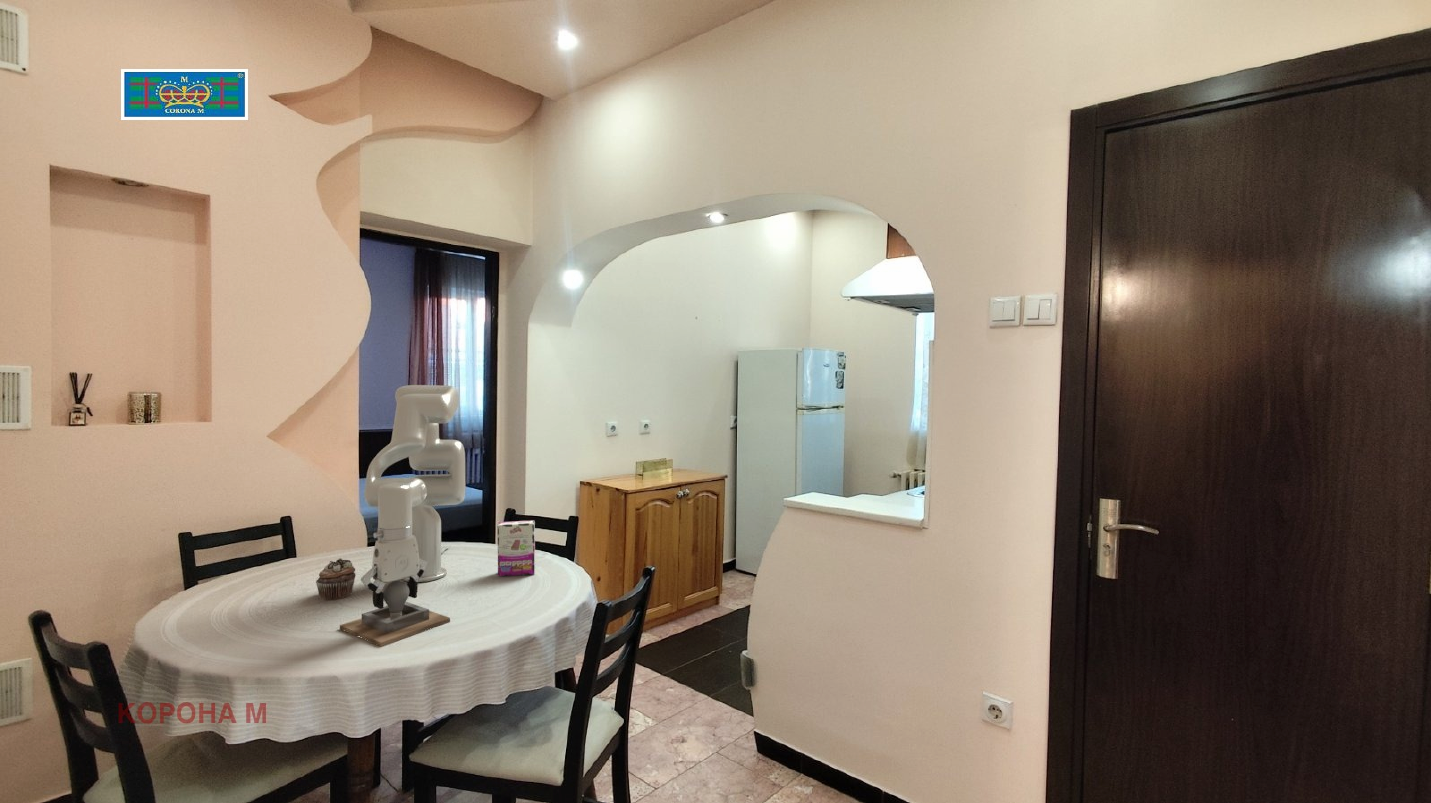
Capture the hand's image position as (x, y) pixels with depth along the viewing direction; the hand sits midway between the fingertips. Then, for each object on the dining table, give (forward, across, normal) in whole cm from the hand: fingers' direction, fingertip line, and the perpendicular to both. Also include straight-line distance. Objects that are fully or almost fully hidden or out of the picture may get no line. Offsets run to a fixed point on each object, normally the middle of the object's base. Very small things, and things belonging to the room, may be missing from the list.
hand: (395, 601), depth 159 cm
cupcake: (+6, +3, +34) cm, 35 cm away
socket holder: (+6, 0, 0) cm, 6 cm away
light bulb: (+5, 0, 0) cm, 5 cm away
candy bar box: (+6, +45, +8) cm, 46 cm away
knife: (+6, +39, +44) cm, 59 cm away
